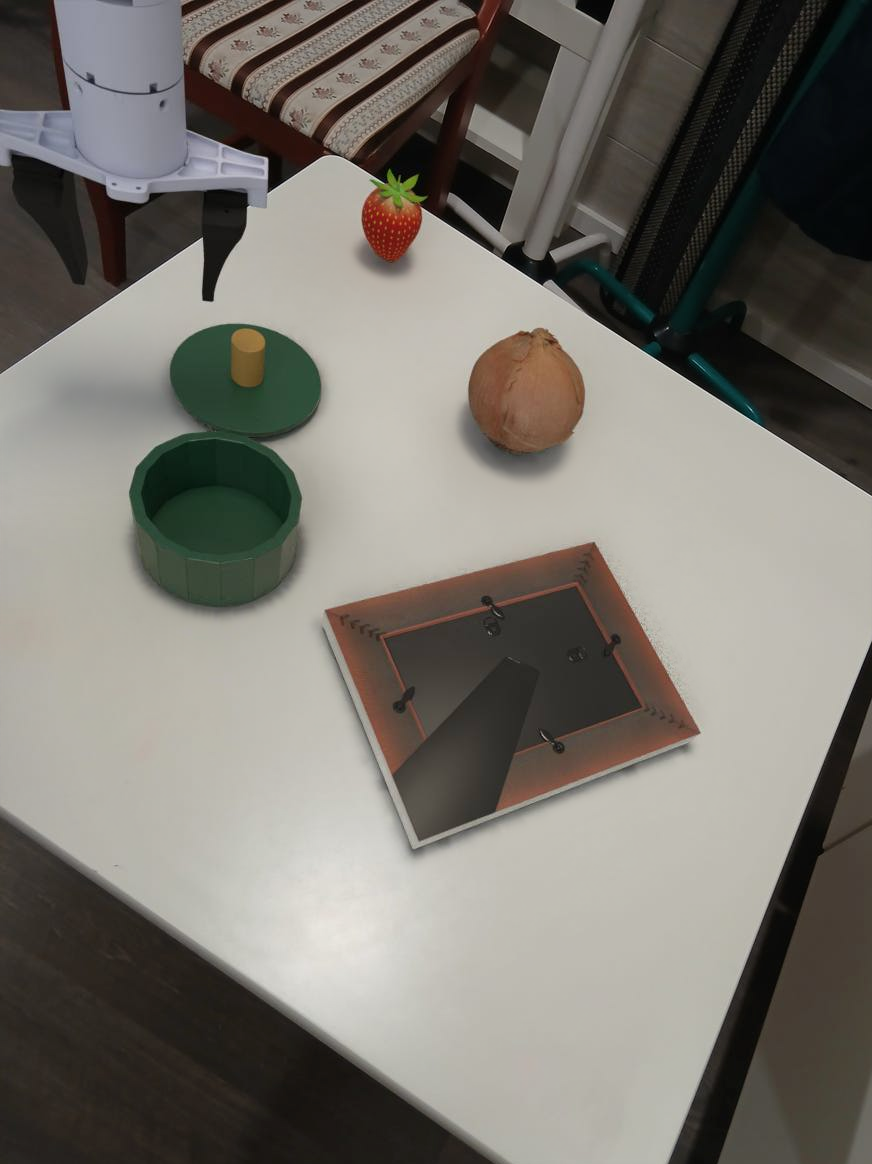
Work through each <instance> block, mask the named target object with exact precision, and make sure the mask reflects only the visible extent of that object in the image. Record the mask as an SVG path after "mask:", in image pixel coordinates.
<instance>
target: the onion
mask: <svg viewBox="0 0 872 1164" xmlns="http://www.w3.org/2000/svg"><path fill="white" fill-rule="evenodd" d="M556 337H557V335H554V334H552V333H551V332H549V329H548V328H545V327H537V328H534V329H533V330H532V331H531V332H529V331H525V330H519V331H518V332H516V333H514V334H512V335H510V336H507V337H506V338H503V339H501V340H499V341H497V342H496V343H493V345H490V347H488V348H487V349H486V350H485V351H484V352H483V353H481V355H480V356H479V357H478V358H477V360H476V361H475V362H474V365H473V367H472V369H471V373H470V376H469V380H468V386H467V387H468V388H467V396H468V397H467V398H468V406H469V409H470V412H471V416H472V417H473V419H474V421H475V422H476V424H477V426H478V427H479V428H480V430H481V432H483V433H482V434H483V435H485V436H486V437H487V439H488V440H489V441H490V442H491V443H493V444H492V445H494V447H495V448H497V449H499V450H502V451H504V452H507V453H509V454H515V455H519V456H522V454H524V453H536V452H542V451H544V450H548V449H549V448H552V447H553V446H556V445H558V444H560V445H562V444H563V443H565V442H566V441H568V440H569V439H570V438H571V437H572V435H574V433H575V431H573V430H574V429H576V427H577V425H578V424H579V422H580V420H581V418H582V416H583V413H584V408H585V401H586V400H585V399H586V388H585V381H584V378H583V375H582V372H581V370H580V368H579V366H578V365H577V363H576V362H575V361H574V359H573V358H572V357H571V356H570V354H569V353H568V352H567V351H565V350H564V349H563V346H562V345H560V341H559V340H558V339H557V338H556Z"/></svg>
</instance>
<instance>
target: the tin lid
mask: <svg viewBox="0 0 872 1164" xmlns="http://www.w3.org/2000/svg"><path fill="white" fill-rule="evenodd" d="M169 380H170V385H171V389H172V392H173V394H174V396H175V397H176V399H177V401H178V402H179V404H180V405H181V406H182V407H183V409H184V410H185V411H186V412H187V413H188V414H190V415H191V416H192V417H193V418H195V419H196V420H197V421H199V422H201V423H202V424H204V425H206V426H207V427H209V428H211V429H214V430H215V431H220V432H226V433H231V434H236V435H241V436H246V437H249V438H263V437H265V438H266V437H271V436H276V435H280V434H284V433H287V432H289V431H291V430H294V429H295V428H297V427H298V426H300V425H302V424H303V423H304V422H306V421H307V420H308V419H309V418H310V417H311V416H312V415H313V413H314V412H315V410H316V409H317V407H318V404H319V402H320V398H321V392H322V379H321V374H320V371H319V369H318V367H317V364H316V362H315V361H314V360H313V358H312V356H310V354H309V353H308V352H307V351H306V350H305V349H304V348H303V347H302V346H301V345H300V344H299V343H297V342H295V341H294V340H293V339H291V338H289V337H287V336H286V335H284V334H282V333H281V332H278V331H276V330H273V329H271V328H268V327H263V326H259V325H256V324H249V323H222V324H216V325H212V326H209V327H206V328H203V329H201V330H198V331H196V332H194V333H193V334H191V335H189V336H188V337H186V339H184V340H183V341H182V342H181V344H180V345H178V347H177V348H176V350H175V351H174V353H173V355H172V358H171V360H170V365H169Z"/></svg>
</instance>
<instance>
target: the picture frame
mask: <svg viewBox="0 0 872 1164" xmlns="http://www.w3.org/2000/svg"><path fill="white" fill-rule="evenodd" d="M321 624H322V627H323V629H324V632H325V634H326V637H327V639H328V642H329V645H330V647H331V650H332V652H333V654H334V658H335V659H336V662H337V664H338V667H339V669H340V672H341V674H342V677H343V679H344V682H345V684H346V686H347V689H348V691H349V694H350V696H351V699H352V702H353V704H354V706H355V710H356V711H357V714H358V717H359V719H360V721H361V724H362V726H363V729H364V731H365V735H366V736H367V739H368V741H369V744H370V746H371V749H372V751H373V754H374V756H375V759H376V761H377V763H378V764H377V765H378V766H379V768H380V771H381V773H382V777H383V779H384V781H385V785H386V786H387V788H388V791H389V794H390V796H391V798H392V801H393V804H394V806H395V809H396V811H397V814H398V816H399V818H400V821H401V823H402V826H403V828H404V831H405V833H406V835H407V838H408V841H409V843H410V846H411V848H412V850H416V849H419V848H421V847H423V846H426V845H429V844H431V843H433V842H437V841H439V840H441V839H444V838H447V837H450V836H451V835H454V834H457V833H459V832H462V831H465V830H468V829H470V828H471V827H472V828H473V827H475V826H477V825H480V824H482V823H483V824H484V823H485V822H489V821H490V820H493V819H496V818H498V817H501V816H503V815H505V814H509V813H512V812H513V811H517V810H518V809H521V808H524V807H526V806H530V805H532V804H534V803H537V802H539V801H542V800H545V799H547V798H550V797H552V796H555V795H557V794H560V793H563V792H565V791H567V790H570V789H573V788H576V787H578V786H580V785H584V784H586V783H589V782H591V781H593V780H596V779H598V778H601V777H604V776H607V775H609V774H611V773H614V772H616V771H620V770H621V769H625V768H627V767H630V766H632V765H635V764H638V763H640V762H642V761H644V760H647V759H650V758H652V757H655V756H658V755H660V754H663V753H665V752H669V751H670V750H673V749H676V748H678V747H682V746H683V745H686V744H688V743H690V742H692V741H693V740H694V739H695V738H697V737H698V736H699V735H700V734H701V731H700V729H699V727H698V725H697V723H696V721H695V720H694V717H693V715H692V714H691V713H690V711H689V708H688V707H687V706H686V704H685V701H684V700H683V698H682V697H681V695H680V693H679V690H678V689H677V687H676V686H675V684H674V683H673V680H672V678H671V676H670V675H669V673H668V671H667V669H666V668H665V666H664V664H663V662H662V660H661V659H660V657H659V655H658V653H657V651H656V650H655V647H654V646H653V644H652V642H651V641H650V639H649V637H648V636H647V633H646V632H645V630H644V628H643V626H642V625H641V623H640V620H639V619H638V618H637V616H636V613H635V612H634V610H633V608H632V607H631V605H630V603H629V601H628V599H627V598H626V596H625V593H624V592H623V590H622V588H621V587H620V585H619V584H618V581H617V579H616V578H615V576H614V573H612V570H611V569H610V567H609V565H608V564H607V562H606V560H605V558H604V555H602V552H601V551H600V549H599V547H598V546H597V544H596V542H595V541H592V542H587V543H583V544H579V545H576V546H572V547H569V548H568V547H567V548H564V549H560V550H555V551H552V552H547V553H544V554H541V555H537V556H536V555H535V556H531V557H528V558H524V559H521V560H516V561H513V562H509V563H504V564H501V565H495V566H493V567H489V568H485V569H480V570H476V571H472V572H469V573H465V574H461V575H456V576H453V577H450V578H445V579H441V580H436V581H434V582H430V583H425V584H422V585H418V586H414V587H410V588H407V589H406V588H405V589H402V590H401V589H400V590H398V591H393V592H389V593H386V594H382V595H377V596H374V597H370V598H366V599H363V600H358V601H354V602H350V603H346V604H342V605H339V606H335V607H330V608H326V609H324V612H323V616H322V620H321Z"/></svg>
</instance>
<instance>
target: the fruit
mask: <svg viewBox="0 0 872 1164" xmlns="http://www.w3.org/2000/svg"><path fill="white" fill-rule="evenodd" d="M386 177H387V182H386V183H383V182H379V181H377V180H375V179H373V178H372V179H368V181H369V182H371V183H372V184H373V185H374V186H375V187H376V188H374V190H372V191H371V192H370V193H369V194H368V196H367V197H366V199H365V200H364V203H363V205H362V210H361V226H362V231H363V233H364V236H365V238H366V241H367V242H368V245H369V246H370V248H371V249H372V251H373V253H375V254H376V255H377V256H378V257H379V258H380V259H381V260H384V261H386V262H390V263H393V262H396V261H399V260H400V259H401V258H402V257H403V256H404V255H405V254H406V252H407V251H408V250H409V248H410V246H412V244H413V242H414V241H415V239H416V237H418V234H419V232H420V230H421V227H422V223H423V210H422V206H421V203H422V202H423V201H424V200H426V199H427V198H428V197H429V196H428V195H426V196H419V195H416V193H415V192H414V191H413V190H412V189H413V188H414V187H415V186H416V183H417V182H418V178H419V173H418V174H415V175H413V176H411V177H410V178H408V179H406V180H405V181H404V182H403V183H402V182H401V175H398V179H396V177H395V176H394V174H393V173H392V170H391V168H389V169H388V170H387V173H386Z"/></svg>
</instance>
